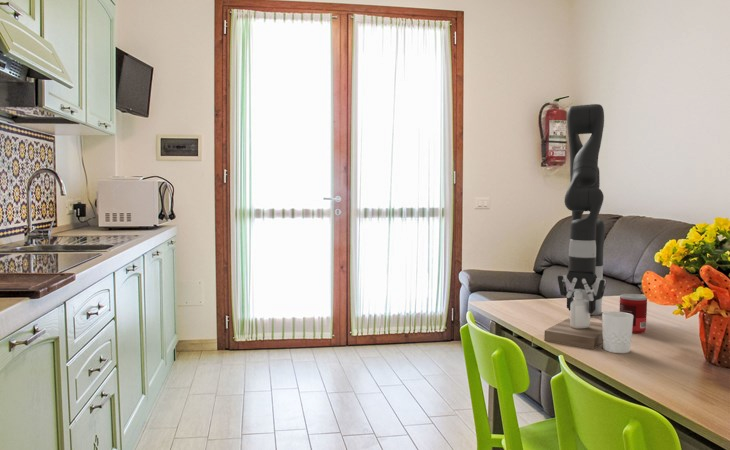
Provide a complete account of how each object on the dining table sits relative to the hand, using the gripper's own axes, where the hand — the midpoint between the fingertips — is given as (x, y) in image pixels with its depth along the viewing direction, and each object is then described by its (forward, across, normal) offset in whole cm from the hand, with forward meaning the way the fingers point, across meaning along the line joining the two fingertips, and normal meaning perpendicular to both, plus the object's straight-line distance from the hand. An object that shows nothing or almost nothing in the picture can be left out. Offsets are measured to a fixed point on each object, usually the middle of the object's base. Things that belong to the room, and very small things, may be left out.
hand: (580, 311), depth 170 cm
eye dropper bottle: (+5, 0, 0) cm, 5 cm away
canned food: (+8, -10, -19) cm, 23 cm away
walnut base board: (+8, 0, 0) cm, 8 cm away
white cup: (+8, -12, +7) cm, 16 cm away
